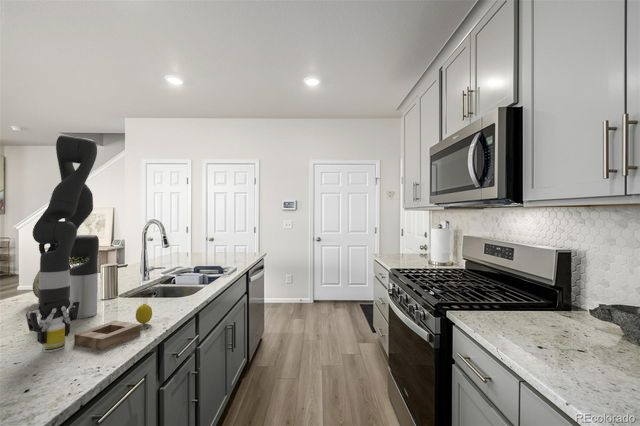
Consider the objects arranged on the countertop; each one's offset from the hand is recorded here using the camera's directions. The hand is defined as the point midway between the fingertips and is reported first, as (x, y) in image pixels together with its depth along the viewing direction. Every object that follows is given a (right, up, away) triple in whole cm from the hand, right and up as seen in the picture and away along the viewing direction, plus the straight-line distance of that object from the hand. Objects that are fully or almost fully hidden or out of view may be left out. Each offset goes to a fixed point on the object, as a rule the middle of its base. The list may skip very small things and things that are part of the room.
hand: (53, 339), depth 98 cm
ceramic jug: (-44, -3, +51) cm, 67 cm away
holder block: (+12, -3, +8) cm, 15 cm away
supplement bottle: (0, -3, 0) cm, 3 cm away
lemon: (+16, -3, +22) cm, 27 cm away
